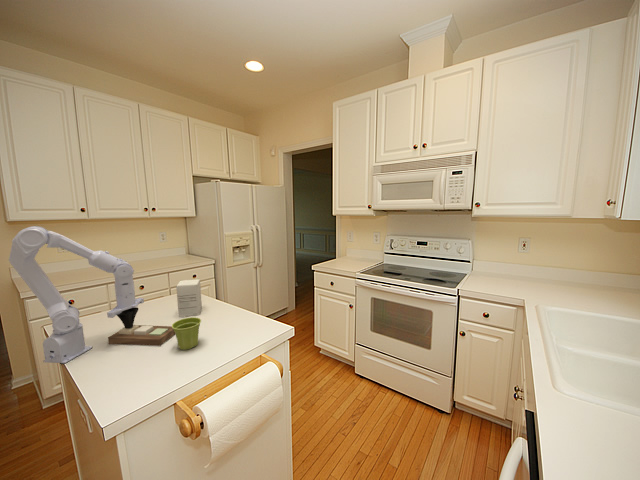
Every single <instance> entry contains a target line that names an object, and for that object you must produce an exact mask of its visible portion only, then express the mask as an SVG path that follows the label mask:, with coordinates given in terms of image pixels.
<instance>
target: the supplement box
mask: <svg viewBox="0 0 640 480" xmlns="http://www.w3.org/2000/svg"><path fill="white" fill-rule="evenodd" d="M175 289H176V298H177V300H176V302H177V310H178V313H177V314H178V318H188V317H196V316H200V315H201V311H202V309H203V304H202V290H201V289H202V288H201V279H200V278H199V279H185V280H180V281H179V282H178V283H177V284H176V288H175Z"/></svg>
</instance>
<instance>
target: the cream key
mask: <svg viewBox="0 0 640 480" xmlns="http://www.w3.org/2000/svg"><path fill="white" fill-rule="evenodd" d="M137 325H138V324H133V327H132V328H130V329H125V327H122V328H121V329H119V330H118V331H119V334H127V335H130V334H132V333H134V331H135V330H136V329H138V328H139V326H137Z"/></svg>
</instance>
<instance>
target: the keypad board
mask: <svg viewBox="0 0 640 480" xmlns="http://www.w3.org/2000/svg"><path fill="white" fill-rule="evenodd" d="M136 325H137V326H139V328H140V327H141V326H147V325H139V324H136ZM152 326H153V328H154V330H156V329H157V328H161V329H168V331H167V332H165V333H164V334H162V335H161V336H153V335H149V334H150V333H151V332H153V331H154V330H152V331H151V332H149V333H148V334H146V335H134V333H132V334H130V335H127V334H119V330H118V331H117V332H114V333H113V334H111V335H109V336H108V337H107V341H108V342H107V343H108V344H109V345H131V346H133V345H134V346H153V347H154V346H155V347H157V346H159V347H161V346H162V345H164V344H165V343H166V342H168V340H170V339H171V338H172V337H174V336H176V334H175V332H174V329H173V328H172V325H171V326H169V325H168V326H167V325H152Z"/></svg>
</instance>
